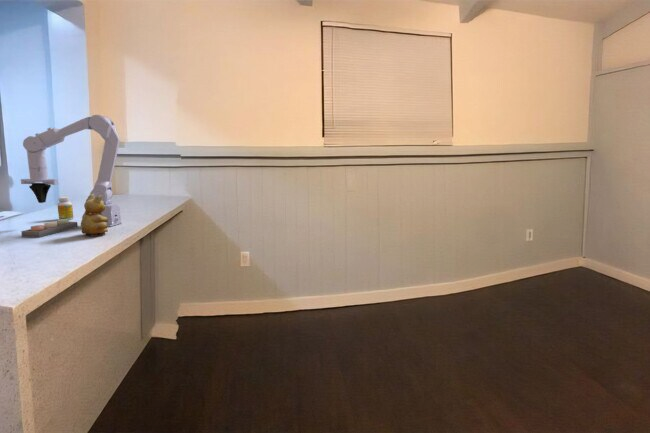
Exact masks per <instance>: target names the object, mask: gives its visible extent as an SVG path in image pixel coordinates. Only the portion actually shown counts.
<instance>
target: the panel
mask: <svg viewBox="0 0 650 433" xmlns="http://www.w3.org/2000/svg"><path fill="white" fill-rule="evenodd" d="M75 227H76V228H78V227H79V225H78V221H69V224H65V225H58V224H57V227H53V228H45V227H44V230H42V231H31V228H30V229H29V228H28V229H26V230H25V229H24V230H21V231H20V232H21V237H22V238H43V237H46V236H49V235H53V234H57V233H58V234H59V233H60V232H64V231H68V230H72V229H75Z"/></svg>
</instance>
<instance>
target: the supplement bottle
mask: <svg viewBox="0 0 650 433" xmlns="http://www.w3.org/2000/svg"><path fill="white" fill-rule="evenodd" d="M70 199H71V198H70V197H69V196H61V197H58V203H57V205H56V206H57V212H58V213H57V214H58V220H61V219H69V221H70V220H73V219H74V211H73V208H74V207H73V203H72V202H71V200H70Z"/></svg>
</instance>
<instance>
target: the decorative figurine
mask: <svg viewBox="0 0 650 433" xmlns="http://www.w3.org/2000/svg"><path fill="white" fill-rule="evenodd" d="M101 198H102V196H101V195H99V196H97V197H96V198H95V196H94V194H91V195H90V194H89V195H88V196H87V198H86V200H85V203H84V206H83V207H84V213H83V215H81V216H82V217H81V221H80V230H81V233H82V234H84V235H85V236H87V237H88V236H89V237H98V236H99V237H100V236H104V235H106V233H107V232H108V231H109V230H108V226H107V221H108V219H107V217H104V216H103V215H102V213H101V212H103V211H104V210H105V208H106V207H105V205H104V202H103V201H101Z"/></svg>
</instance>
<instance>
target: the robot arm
mask: <svg viewBox="0 0 650 433" xmlns="http://www.w3.org/2000/svg"><path fill="white" fill-rule="evenodd" d="M46 129H47V130H45V131H42V132H41V133H39V132H37V133H35V134H34V135H35V136H32V135H30V136H27V137H26V138H24V139H23V142H22V146H23V147H24V149H25V150H26V154H27V164H28V172H29V178H20V183H21V185H29V186H28V187H29V188H30V190H31V191H32V192H33V194H34V196H35V198H36V199H37V203H39V204H44V203H47V202H46V201H47V196H48V193H49V190H50V188H51V185H53V186H56V185H59V179H52V178H49V176H48V168H47V157H46V151H45V150H47V149H48V148H51V147H53V146H55V145H58V144H60V143H62V142H64V140H65V138H66V137H68V136H70V135H71V136H72V135H74V134H76V133H79V132H81V131H84V130H90V131H91V130H92V131H95V133H97V134H99V136H100V137H101V139H103V141H104V146H103V149H102V150H103V151H102V155H101V159H100V166H99V171H98V175H97V180H96V181H95V183H94V185H93V186H94V187H93V189H92V190H91V191H90V193H89V195H91V194H94V196H95V198H96V197H97V196H99V195H101V196H102V198H101V201H103V202H104V205H105V207H106V208H105V210H104V211H103V212H101V213H102V215H103V216H104V217H107V219H108V221H107V228H109V227H114V226H116V225H120V224H123V221H122V218H121V217H122V216H121V208H120V206H119V205H118V204H116V203H113V201H112V198H113V195H114V193H113V189H112V188H113V184H112V180H113V174H114V170H115V164H116V161H117V155H118V151H119V146H120V142H121V138H120V136H119V134H118V131H117V129H116V124H115V122H114V121H112V119H111V118H109V117H108V116H105V115H100V114H92V115H91V116H87V117H85V118H84V117H83V118H81V119H79V120H77V121H75V122H73V123H71V124H69V125H66V126H63V127H62V128H60V129H59V128H57V127H53V128H52V127H48V128H46Z"/></svg>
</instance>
